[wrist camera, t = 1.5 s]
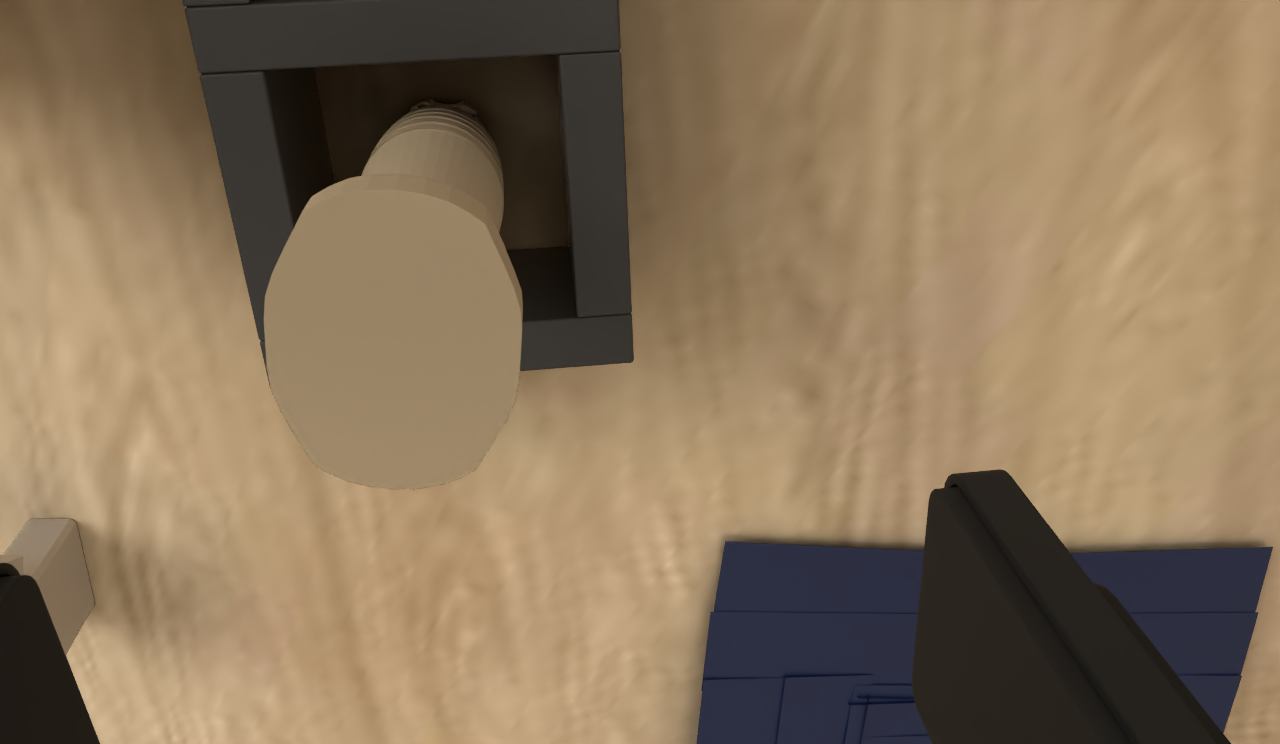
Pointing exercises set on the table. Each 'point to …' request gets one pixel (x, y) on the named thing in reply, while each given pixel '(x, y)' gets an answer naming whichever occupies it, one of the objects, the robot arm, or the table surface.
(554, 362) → the holder
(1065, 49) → the table surface
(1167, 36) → the table surface
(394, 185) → the handle
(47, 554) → the lighter
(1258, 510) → the table surface
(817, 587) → the navy flat block
